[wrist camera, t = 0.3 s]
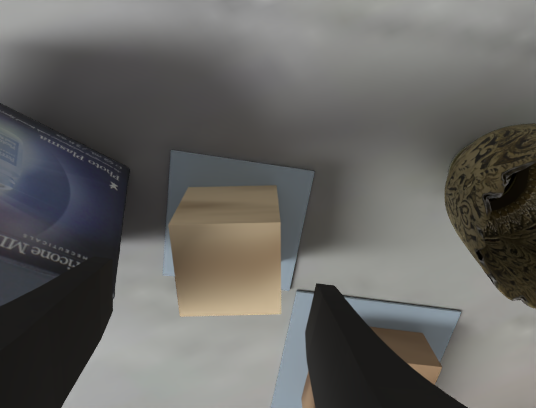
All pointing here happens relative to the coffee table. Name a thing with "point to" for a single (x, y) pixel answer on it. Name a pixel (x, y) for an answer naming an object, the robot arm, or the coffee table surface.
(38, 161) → the small box
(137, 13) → the coffee table surface
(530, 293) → the cup
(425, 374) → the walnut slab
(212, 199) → the oak block
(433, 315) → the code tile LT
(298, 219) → the code tile
